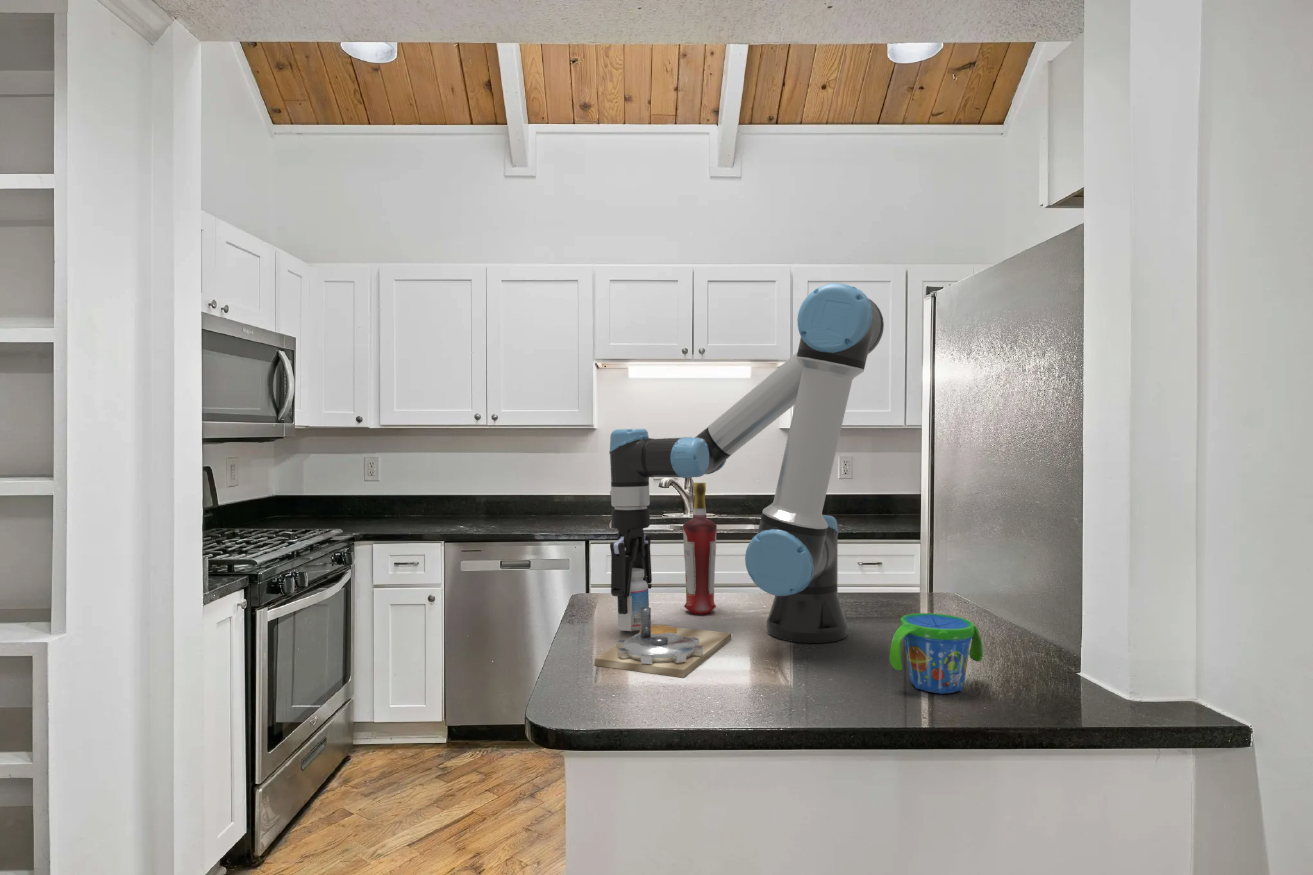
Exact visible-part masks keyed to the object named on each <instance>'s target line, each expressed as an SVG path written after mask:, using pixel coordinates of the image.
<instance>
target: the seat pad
mask: <svg viewBox="0 0 1313 875" xmlns="http://www.w3.org/2000/svg"><path fill="white" fill-rule="evenodd" d="M674 627H675V626H671V625H667V624H665V625H664V624H651V634H665V633H666V632H667V633H677V629H676V628H674ZM639 633H641V628H640V630H639Z"/></svg>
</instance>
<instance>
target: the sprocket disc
mask: <svg viewBox="0 0 1313 875" xmlns="http://www.w3.org/2000/svg"><path fill="white" fill-rule="evenodd" d="M651 612H652V610H651V607H650V606H649V607H642V608H641V634H638V633H635V634H634V636H635V637H633V636H631V637H629V638H627V639H618V640H617V641H616V642H615V646H616V649H617V650H618V656H619V657H620V658H622V659H623V658H631V659H634V660H638V661H641V663H643V664H652V663H653V662H675V663H681V662H686V659H687V658H690V657H692V656H693V655H696V656H701V655H702V654H703V646H699V639H697V638H695V637H690V638H688V637H684V636H680V635H676V633H667V632H666V633H665V634H651V625H652V622H651V620H652V614H651Z"/></svg>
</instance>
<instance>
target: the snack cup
mask: <svg viewBox="0 0 1313 875" xmlns="http://www.w3.org/2000/svg"><path fill="white" fill-rule="evenodd" d="M902 641H904V647H905V654H906V663H907V668H908V673H909V679H910V681H911V684H912V685H913V686H914V687H915V689H918V690H921V691H924V692H928V693H934V694H940V695H943V694H951V693H952V694H953V693H956V692H962V691H963V687H964V685H965V680H966V673H967V667H968V661H969V658H970V659H971V660H972V661H974V662H977V663H978V662H980V661H982V660H983V657H984V656H983V655H984V653H983V652H984V648H983V642H982V638H981V633H980V631H979V629H978V628H977V626H976V625H975V624H974V623H973V621H971V620H969V619H966V618H963V617H960V616H957V615H956V616H955V615H950V614H943V613H931V612H930V613H929V612H926V613H925V612H920V613H919V612H918V613H909V614H904V615H903V616H901V618H900V626H899V627H898V628H897V629H896V631H895V632H894V634H893V636H892V640H891V644H890V648H889V656H888V657H889V664H890V665H891V667H892V668H893V669H894V670H895V671H899V672H900V671H902V670H903V664H902Z"/></svg>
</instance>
